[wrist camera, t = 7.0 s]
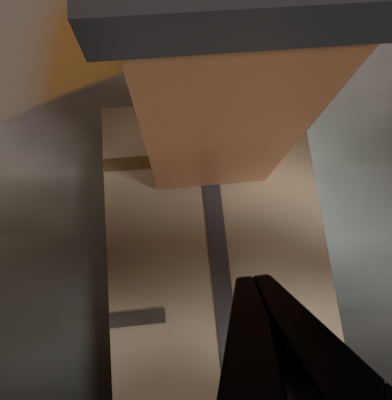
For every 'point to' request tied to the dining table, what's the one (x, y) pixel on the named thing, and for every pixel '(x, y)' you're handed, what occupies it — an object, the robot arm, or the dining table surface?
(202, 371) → the fader console
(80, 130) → the dining table surface
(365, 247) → the dining table surface
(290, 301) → the robot arm
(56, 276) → the dining table surface
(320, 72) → the fader tab
